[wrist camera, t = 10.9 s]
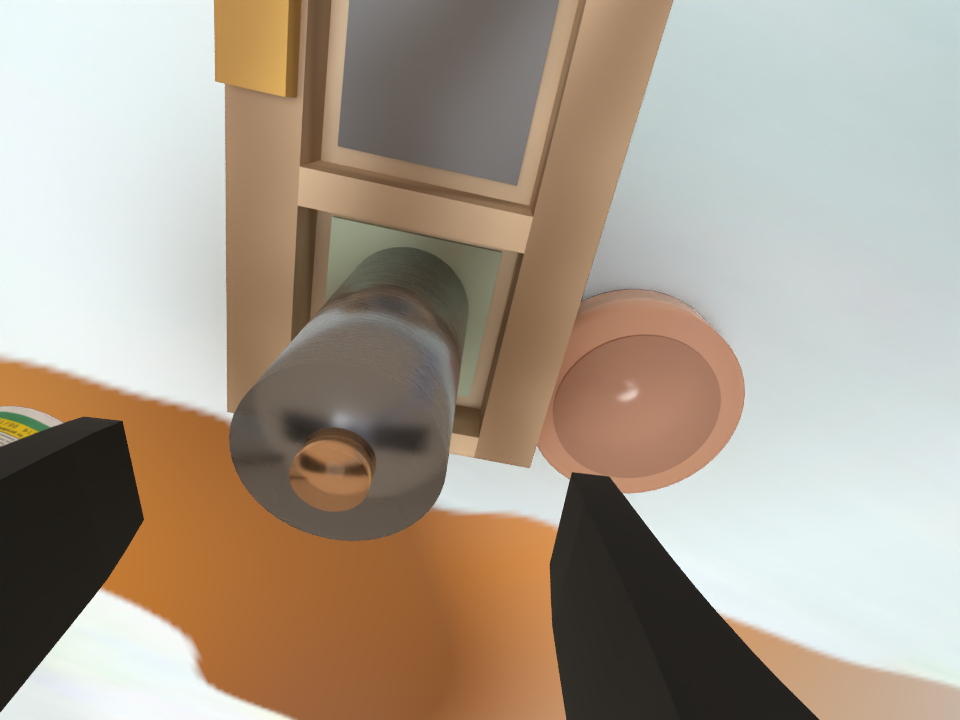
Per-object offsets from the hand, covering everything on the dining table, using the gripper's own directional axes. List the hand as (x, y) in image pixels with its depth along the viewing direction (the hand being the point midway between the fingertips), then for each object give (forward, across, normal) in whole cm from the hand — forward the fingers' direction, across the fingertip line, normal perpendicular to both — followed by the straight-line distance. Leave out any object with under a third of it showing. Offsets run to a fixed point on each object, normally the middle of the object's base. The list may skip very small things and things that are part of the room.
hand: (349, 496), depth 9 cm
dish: (+10, -7, +2) cm, 13 cm away
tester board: (+10, 0, -3) cm, 11 cm away
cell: (+9, 0, 0) cm, 9 cm away
